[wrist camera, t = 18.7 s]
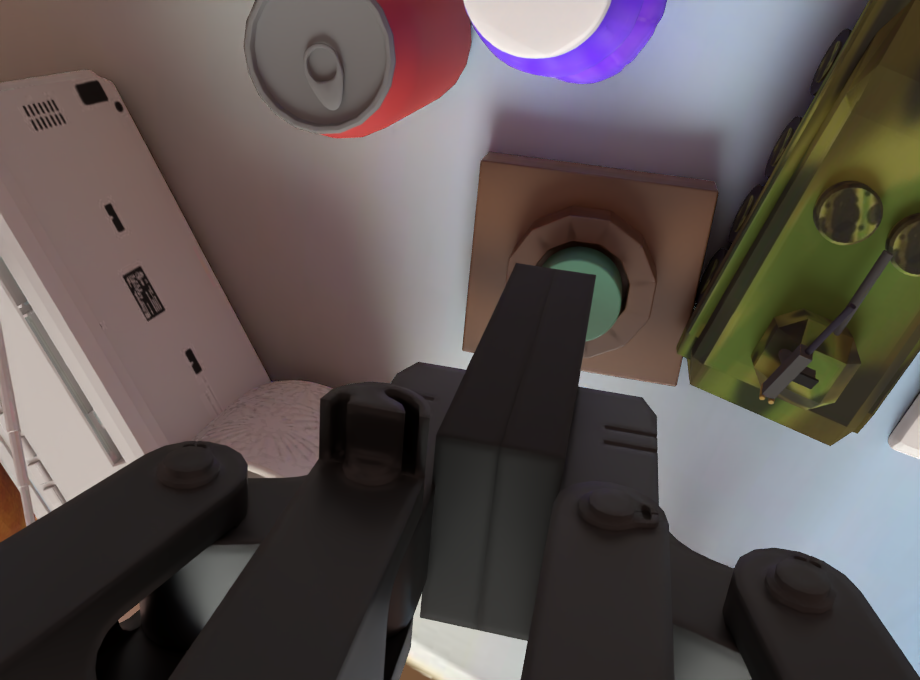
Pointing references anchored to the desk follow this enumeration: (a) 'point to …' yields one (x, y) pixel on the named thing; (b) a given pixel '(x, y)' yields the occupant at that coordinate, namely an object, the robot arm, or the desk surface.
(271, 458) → the planter
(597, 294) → the flush button
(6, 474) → the bread
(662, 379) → the button panel
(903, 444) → the light switch
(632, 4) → the bottle
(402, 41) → the beer can
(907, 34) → the toy vehicle
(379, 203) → the desk surface
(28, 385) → the radio
